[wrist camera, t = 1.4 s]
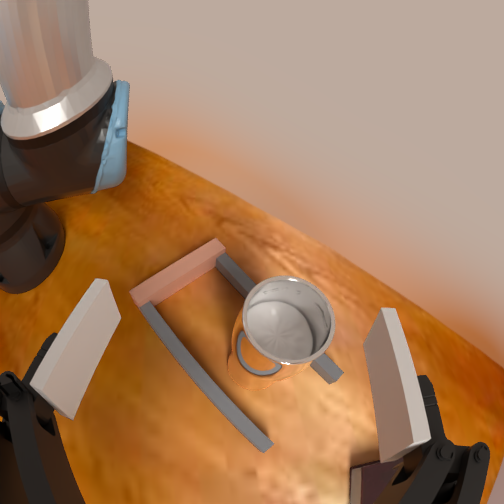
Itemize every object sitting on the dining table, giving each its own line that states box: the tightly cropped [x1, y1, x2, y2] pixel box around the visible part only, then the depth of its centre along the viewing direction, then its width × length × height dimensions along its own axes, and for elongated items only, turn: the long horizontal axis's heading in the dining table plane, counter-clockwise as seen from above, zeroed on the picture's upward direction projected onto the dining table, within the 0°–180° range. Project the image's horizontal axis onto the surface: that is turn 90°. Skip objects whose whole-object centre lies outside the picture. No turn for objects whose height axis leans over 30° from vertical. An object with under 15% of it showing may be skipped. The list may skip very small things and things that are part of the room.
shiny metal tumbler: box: [227, 276, 335, 391], centre depth 24 cm, size 7×7×15 cm
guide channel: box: [129, 238, 344, 453], centre depth 30 cm, size 23×13×3 cm, turn 43°
